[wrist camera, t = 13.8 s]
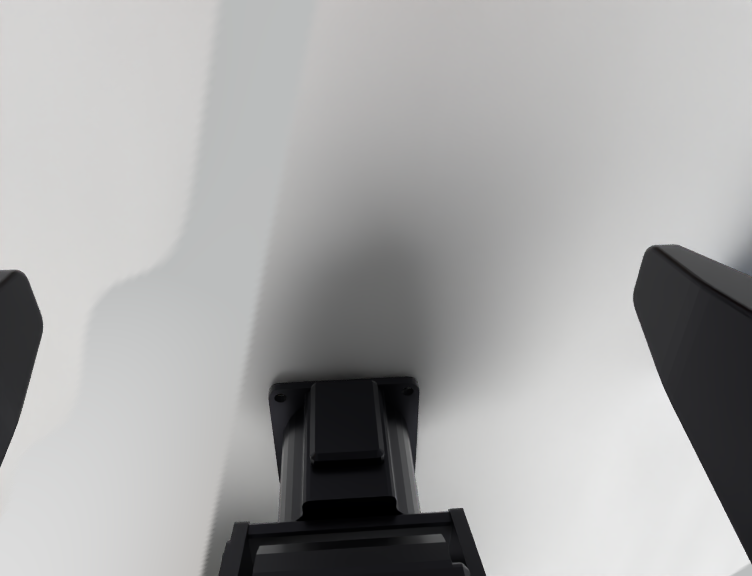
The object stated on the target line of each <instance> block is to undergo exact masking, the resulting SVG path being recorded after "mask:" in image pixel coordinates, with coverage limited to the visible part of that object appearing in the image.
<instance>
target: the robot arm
mask: <svg viewBox="0 0 752 576" xmlns="http://www.w3.org/2000/svg"><path fill="white" fill-rule="evenodd" d="M633 302H634V307H635V310H636V313H637V316H638V319H639V321H640V324H641V327H642V330H643V332H644V335H645V338H646V341H647V344H648V346H649V349H650V352H651V355H652V357H653V360H654V363H655V366H656V369H657V371H658V374H659V377H660V379H661V382H662V384H663V387H664V389H665V391H666V393H667V396H668V398H669V400H670V402H671V404H672V406H673V408H674V410H675V412H676V414H677V416H678V418H679V420H680V422H681V424H682V426H683V428H684V430H685V432H686V434H687V436H688V438H689V440H690V442H691V444H692V446H693V448H694V450H695V452H696V454H697V456H698V458H699V460H700V462H701V464H702V466H703V468H704V470H705V472H706V474H707V476H708V478H709V480H710V482H711V484H712V486H713V488H714V490H715V492H716V494H717V496H718V498H719V500H720V502H721V504H722V506H723V508H724V510H725V512H726V514H727V516H728V518H729V520H730V522H731V524H732V526H733V528H734V530H735V532H736V534H737V536H738V538H739V540H740V542H741V544H742V546H743V548H744V550H745V552H746V554H747V556H748V558H749V560H750V562H751V564H752V277H751V276H749V275H747V274H744V273H742V272H740V271H737V270H735V269H733V268H731V267H728V266H726V265H724V264H721V263H719V262H717V261H714V260H712V259H710V258H707V257H705V256H703V255H701V254H698V253H696V252H694V251H691V250H689V249H687V248H684V247H682V246H680V245H674V244H672V245H653V246H651V247H649V248H648V249H647V250H646V252H645V254H644V256H643V260H642V263H641V267H640V270H639V274H638V277H637V281H636V285H635V288H634V293H633ZM42 333H43V320H42V316H41V313H40V310H39V307H38V305H37V302H36V299H35V297H34V294H33V291H32V289H31V286H30V283H29V281H28V279H27V277H26V275H25V274H24V273H23V272H21V271H19V270H0V466H1V464H2V462H3V459H4V457H5V454H6V452H7V449H8V447H9V444H10V442H11V439H12V437H13V434H14V432H15V429H16V426H17V424H18V421H19V417H20V414H21V411H22V408H23V404H24V400H25V397H26V393H27V389H28V385H29V382H30V378H31V374H32V370H33V367H34V363H35V359H36V356H37V352H38V348H39V344H40V341H41V337H42ZM406 387H411V388H410V389H404V388H406ZM277 394H283V396H278V395H277ZM418 405H419V387H418V382H417V380H416V379H414V378H412V377H391V378H371V379H351V380H331V381H312V382H292V383H278V384H274V385H273V386H271V388H270V390H269V406H270V414H271V421H272V429H273V436H274V444H275V451H276V459H277V467H278V474H279V482H280V498H279V515H278V522H273V523H257V524H250V522H235V523H234V527H233V532H232V536H231V540H230V541H227V543H226V547H225V551H224V553H223V557H222V564H221V568H220V572H219V576H486V574H485V571H484V568H483V565H482V562H481V559H480V556H479V554H478V551H477V548H476V545H475V542H474V539H473V536H472V533H471V530H470V527H469V524H468V522H467V519H466V516H465V513H464V510H463V508H455V509H449V510H448V511H446V512H430V513H421V512H420V506H419V499H418V493H417V486H416V479H415V462H416V443H417V424H418Z"/></svg>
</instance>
